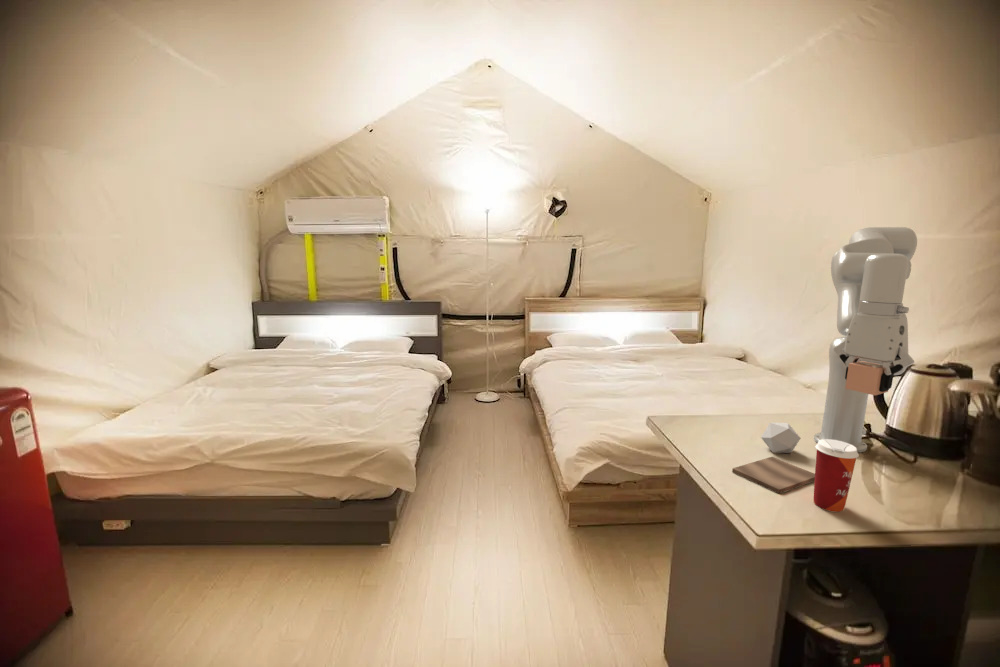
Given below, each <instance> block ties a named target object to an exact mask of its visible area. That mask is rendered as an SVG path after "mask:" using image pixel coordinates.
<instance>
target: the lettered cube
mask: <svg viewBox="0 0 1000 667" xmlns="http://www.w3.org/2000/svg"><path fill="white" fill-rule="evenodd" d="M882 374H884V369H883V366H882V364H876V363H871V362H865V361H859V362H854V363H849V367H848V373H847V380H846V387H845V389H850V390H854V391H858V392H863V393H867V394H868V395H871V396H878V395H881V394H885V393H888V392H889V390H888V391H885V392H880V391H879V388H880V382H881V376H882Z"/></svg>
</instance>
